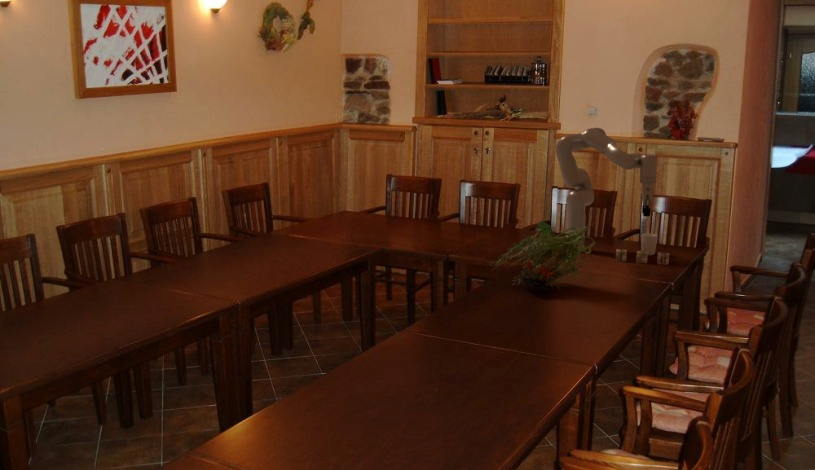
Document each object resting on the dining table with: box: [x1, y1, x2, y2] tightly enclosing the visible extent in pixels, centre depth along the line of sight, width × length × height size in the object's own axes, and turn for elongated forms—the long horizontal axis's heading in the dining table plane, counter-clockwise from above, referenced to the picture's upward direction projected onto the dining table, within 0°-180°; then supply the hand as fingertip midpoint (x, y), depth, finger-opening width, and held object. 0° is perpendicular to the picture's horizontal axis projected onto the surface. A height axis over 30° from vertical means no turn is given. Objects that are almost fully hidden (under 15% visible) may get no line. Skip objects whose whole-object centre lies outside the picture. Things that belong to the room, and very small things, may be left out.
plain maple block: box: [635, 250, 649, 264], centre depth 419 cm, size 5×5×5 cm
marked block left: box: [615, 248, 628, 262], centre depth 422 cm, size 5×5×5 cm
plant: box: [488, 220, 599, 292], centre depth 364 cm, size 35×35×40 cm
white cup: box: [640, 232, 658, 256], centre depth 436 cm, size 8×8×10 cm
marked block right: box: [656, 251, 670, 266], centre depth 416 cm, size 5×5×5 cm
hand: (646, 214), depth 416 cm, fingers open, 9 cm apart
